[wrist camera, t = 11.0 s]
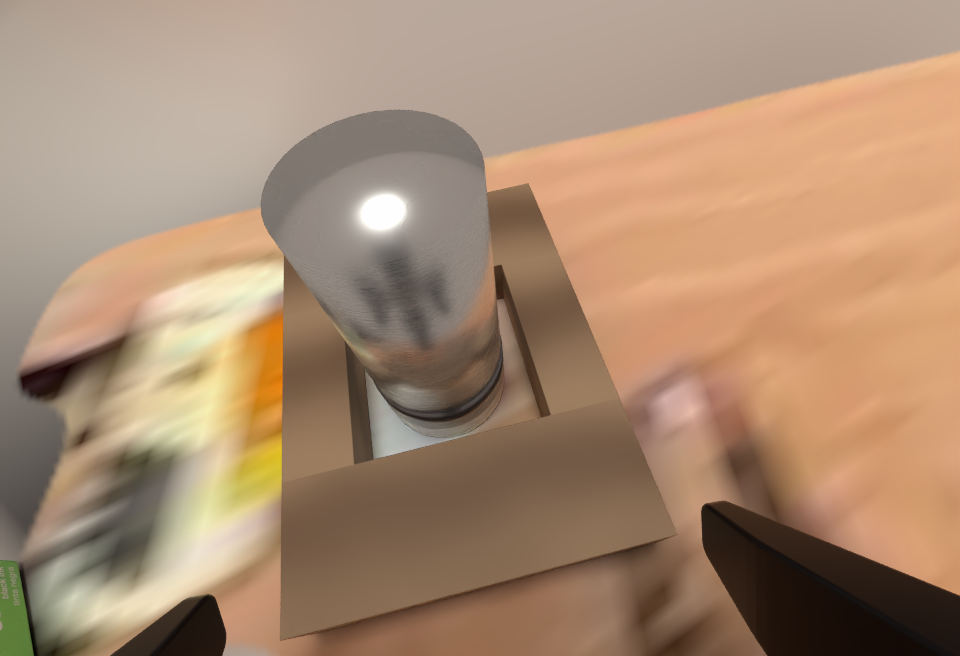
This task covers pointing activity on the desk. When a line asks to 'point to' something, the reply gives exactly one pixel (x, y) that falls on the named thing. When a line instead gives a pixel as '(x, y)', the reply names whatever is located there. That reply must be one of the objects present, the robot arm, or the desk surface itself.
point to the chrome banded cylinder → (398, 258)
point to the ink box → (13, 613)
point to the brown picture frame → (455, 459)
